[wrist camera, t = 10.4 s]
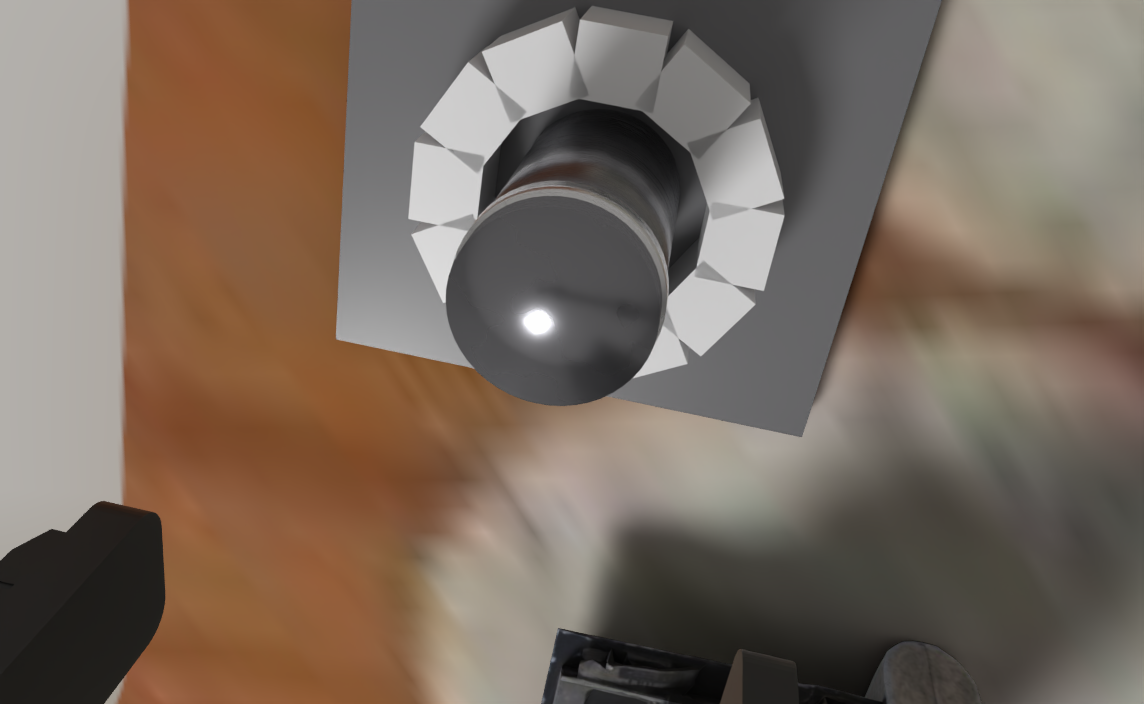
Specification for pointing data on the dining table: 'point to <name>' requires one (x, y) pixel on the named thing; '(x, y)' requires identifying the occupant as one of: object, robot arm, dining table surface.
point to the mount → (692, 133)
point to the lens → (570, 262)
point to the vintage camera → (695, 685)
